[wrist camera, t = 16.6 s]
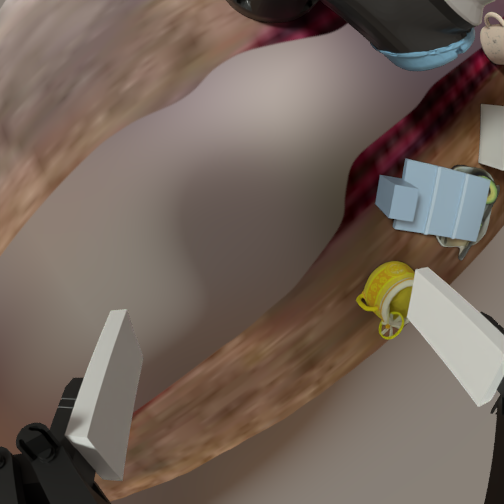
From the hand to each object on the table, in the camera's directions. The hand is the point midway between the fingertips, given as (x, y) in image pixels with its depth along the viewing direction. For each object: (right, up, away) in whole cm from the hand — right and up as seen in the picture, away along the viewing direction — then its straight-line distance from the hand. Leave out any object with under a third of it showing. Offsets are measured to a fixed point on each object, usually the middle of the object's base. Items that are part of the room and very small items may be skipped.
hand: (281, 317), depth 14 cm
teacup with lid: (+46, +45, +26) cm, 70 cm away
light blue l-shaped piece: (+30, +12, +36) cm, 49 cm away
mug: (+23, -3, +44) cm, 50 cm away
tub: (+52, +26, +35) cm, 68 cm away
